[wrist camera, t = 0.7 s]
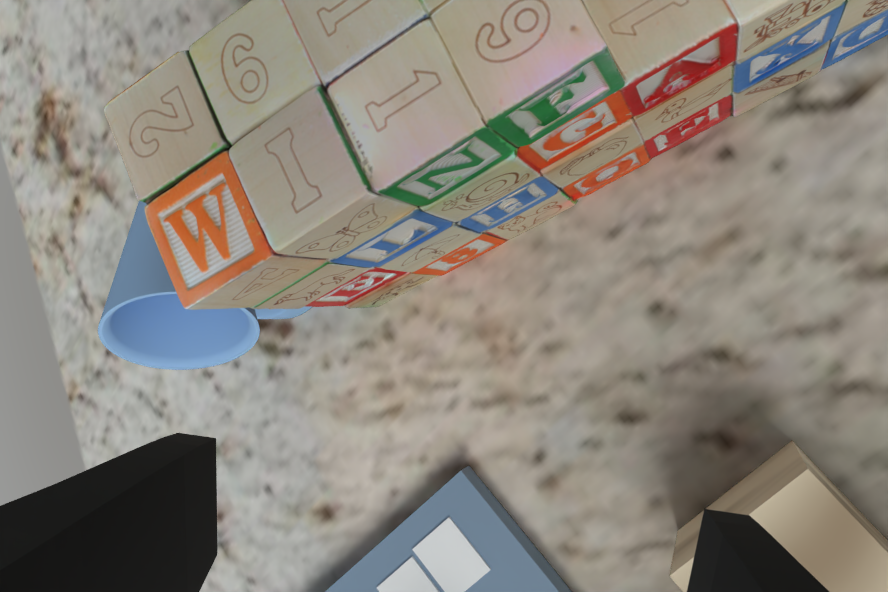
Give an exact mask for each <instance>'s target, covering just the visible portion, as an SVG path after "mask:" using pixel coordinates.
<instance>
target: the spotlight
mask: <svg viewBox="0 0 888 592" xmlns="http://www.w3.org/2000/svg"><path fill="white" fill-rule="evenodd" d="M146 205H147V204H146V203H144V202H142V201H139V203H138V206H137V209H136V212H135V215H134V218H133V221H132V224H131V227H130V231H129V234H128V237H127V240H126V243H125V246H124V249H123V252H122V255H121V258H120V261H119V264H118V267H117V271H116V274H115V277H114V280H113V283H112V286H111V289H110V292H109V295H108V298H107V301H106V304H105V307H104V311H103V314H102V317H101V320H100V323H99V326H98V335H99V338H100V340H101V342H102V343H103V345H104V346H105V347H106V348H107V349H108V350H109V351H111V352H112V353H114V354H115V355H117V356H119V357H121V358H123V359H125V360H127V361H130V362H133V363H136V364H139V365H143V366H147V367H153V368H159V369H172V370H187V369H199V368H206V367H211V366H216V365H220V364H223V363H226V362H229V361H231V360H234V359H236V358H238V357H240V356H242V355H243V354H245V353H246V352H248V351H249V350H250V349H251V348H252V347H253V346H254V345H255V343H256V342H257V340H258V338H259V334H260V328H259V324H258V320H257V319H288V318H293V317H297V316H299V315H301V314H303V313H305V312H307V311H308V310H309V309H311V308H312V306H304V307H302V308H300V309H252V308H249V307H248V308H229V309H199V310H189V309H185V308H184V307H183V305H182V303H181V301H180V300H179V297H178V295H177V293H176V290H175V288H174V285H173V283H172V281H171V278H170V276H169V273H168V271H167V269H166V266H165V264H164V261H163V259H162V257H161V254H160V252H159V249H158V247H157V244H156V242H155V239H154V237H153V234H152V232H151V230H150V227H149V225H148V222H147V219H146V215H145V206H146Z"/></svg>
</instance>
